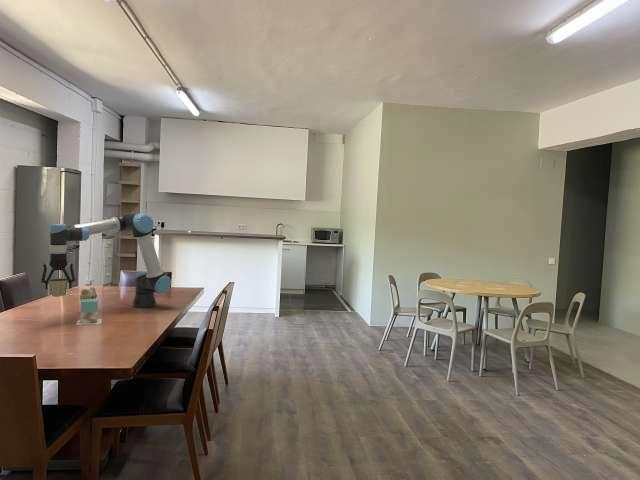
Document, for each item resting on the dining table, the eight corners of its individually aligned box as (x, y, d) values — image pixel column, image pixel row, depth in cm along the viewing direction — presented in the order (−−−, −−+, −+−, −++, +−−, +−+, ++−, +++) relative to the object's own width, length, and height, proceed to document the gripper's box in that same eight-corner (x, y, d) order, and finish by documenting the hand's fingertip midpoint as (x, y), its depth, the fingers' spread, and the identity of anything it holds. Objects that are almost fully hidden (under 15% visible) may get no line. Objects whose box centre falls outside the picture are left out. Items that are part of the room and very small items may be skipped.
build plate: (101, 320, 253) (101, 318, 253) (100, 325, 243) (101, 323, 243) (77, 321, 248) (77, 320, 248) (76, 326, 238) (76, 324, 238)
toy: (88, 314, 267) (88, 289, 266) (76, 313, 269) (76, 288, 268) (99, 311, 277) (100, 287, 276) (87, 310, 278) (88, 286, 278)
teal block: (97, 309, 250) (97, 298, 250) (97, 312, 243) (97, 301, 243) (81, 309, 247) (81, 299, 247) (80, 312, 240) (80, 301, 240)
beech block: (97, 319, 251) (97, 309, 250) (97, 322, 244) (97, 312, 243) (81, 320, 247) (81, 309, 247) (80, 323, 240) (80, 312, 240)
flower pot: (47, 298, 231) (47, 281, 230) (49, 294, 239) (48, 278, 238) (68, 296, 235) (68, 280, 234) (69, 293, 243) (69, 278, 243)
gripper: (81, 252, 243) (81, 292, 245) (36, 252, 235) (36, 294, 236) (80, 253, 237) (80, 295, 238) (34, 253, 228) (34, 297, 229)
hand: (58, 295), depth 237 cm, fingers closed on flower pot, 8 cm apart
